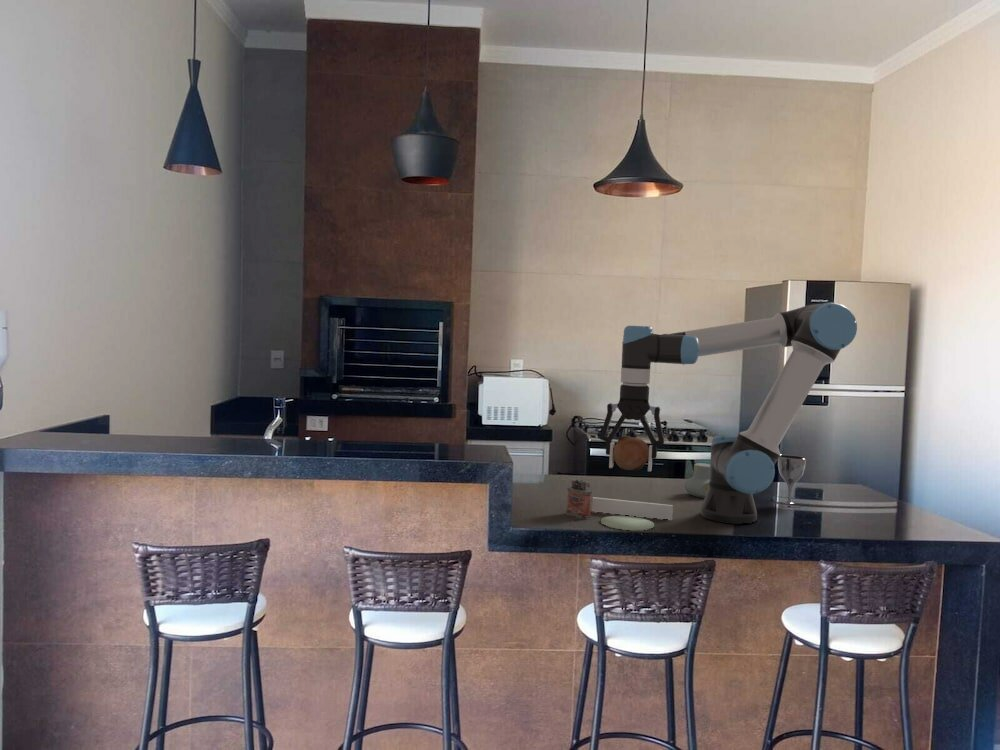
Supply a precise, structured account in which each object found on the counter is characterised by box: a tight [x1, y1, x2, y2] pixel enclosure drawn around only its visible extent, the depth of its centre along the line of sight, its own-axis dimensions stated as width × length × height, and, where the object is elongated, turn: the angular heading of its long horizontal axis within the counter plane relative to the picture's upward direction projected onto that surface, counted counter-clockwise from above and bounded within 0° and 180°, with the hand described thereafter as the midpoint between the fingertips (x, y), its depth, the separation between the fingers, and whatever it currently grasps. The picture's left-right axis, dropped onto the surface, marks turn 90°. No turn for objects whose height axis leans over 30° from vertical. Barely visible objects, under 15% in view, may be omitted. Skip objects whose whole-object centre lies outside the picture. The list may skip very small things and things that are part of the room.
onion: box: [613, 435, 649, 472], centre depth 208 cm, size 10×9×10 cm
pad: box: [600, 515, 655, 532], centre depth 209 cm, size 14×14×1 cm
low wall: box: [591, 496, 674, 521], centre depth 219 cm, size 22×1×4 cm, turn 74°
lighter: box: [565, 478, 592, 519], centre depth 216 cm, size 8×3×10 cm, turn 40°
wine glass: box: [777, 453, 807, 504], centre depth 241 cm, size 8×8×15 cm
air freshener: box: [684, 462, 710, 499], centre depth 249 cm, size 11×8×10 cm
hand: (630, 468), depth 208 cm, fingers closed on onion, 9 cm apart
